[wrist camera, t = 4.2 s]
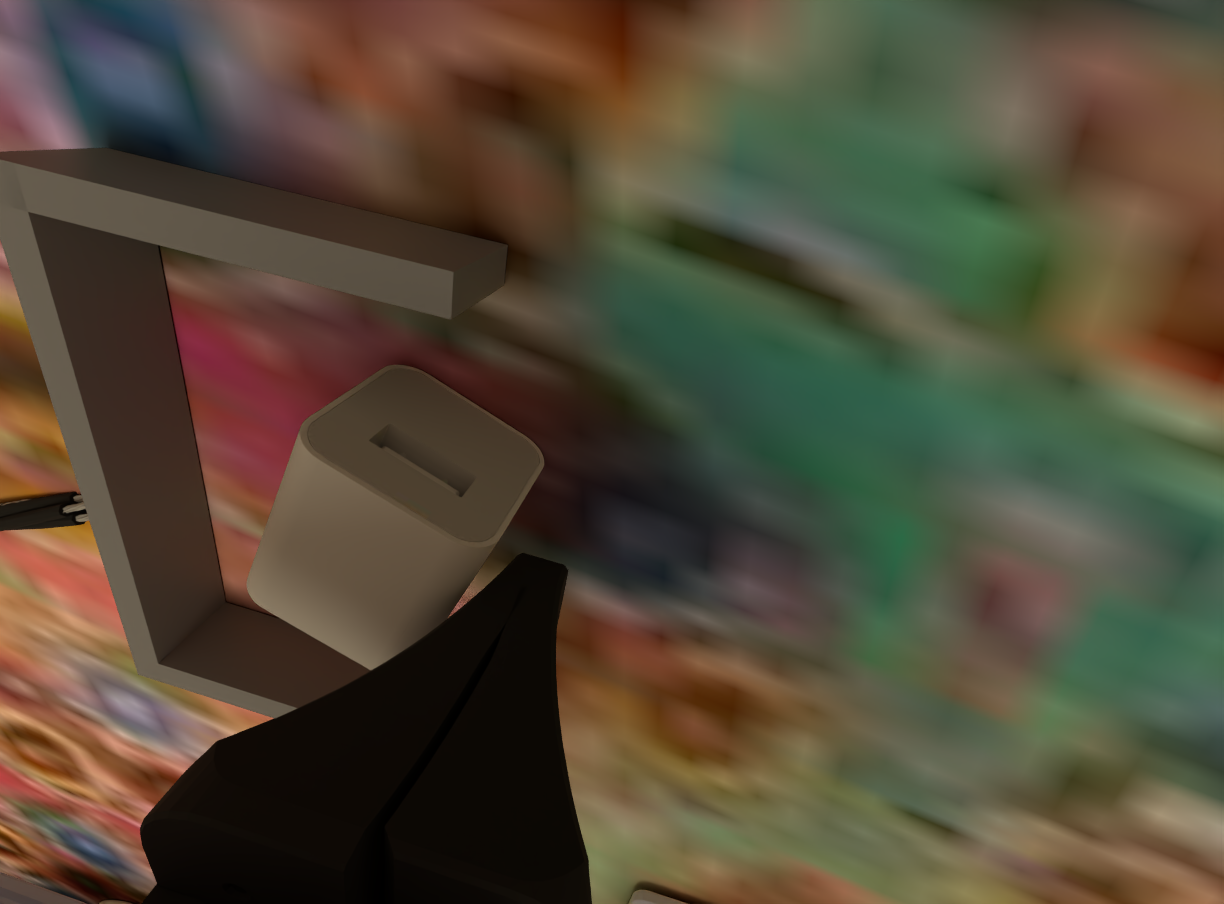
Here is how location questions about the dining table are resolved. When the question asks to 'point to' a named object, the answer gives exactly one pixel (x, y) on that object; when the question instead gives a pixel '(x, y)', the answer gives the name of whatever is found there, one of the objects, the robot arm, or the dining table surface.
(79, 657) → the dining table surface
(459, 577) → the usb wall charger
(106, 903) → the lidded bowl
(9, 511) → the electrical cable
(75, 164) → the charging bay
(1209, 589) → the dining table surface
